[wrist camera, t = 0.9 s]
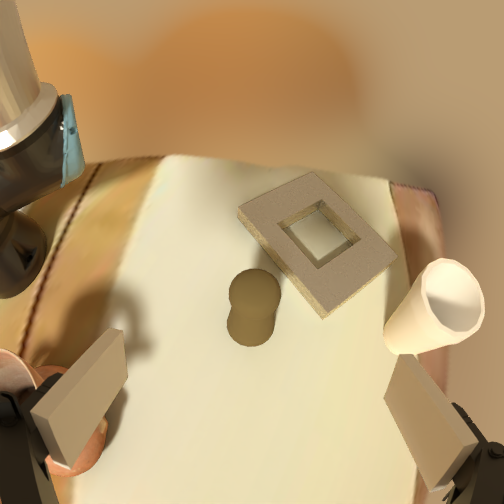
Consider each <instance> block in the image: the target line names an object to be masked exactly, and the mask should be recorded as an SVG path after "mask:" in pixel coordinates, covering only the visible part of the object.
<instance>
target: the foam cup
mask: <svg viewBox="0 0 504 504" xmlns="http://www.w3.org/2000/svg"><path fill="white" fill-rule="evenodd" d="M484 315H485V312H484V297H483V294H482V291H481V289H480V286H479V284H478V282H477V280H476V279H475V278H474V276H473V275H472V274H471V272H470V271H469V270H468V269H467V268H466V267H464V266H463V265H461V264H460V263H458V262H457V261H455V260H451V259H444V258H440V259H438V260H435V261H433V262H431V263H429V264H428V265H427V266H426V267H425V268H424V269H423V270H422V271H421V273H420V274H419V275H418V277H417V278H416V280H415V282H414V283H413V285H412V288H411V289H410V291H409V292H408V294H407V295H406V296H405V298H404V299H403V301H402V302H401V303H400V305H399V306H398V307H397V309H396V310H395V311H394V313H393V314H392V315H391V317H390V318H389V320H388V321H387V323H386V324H385V326H384V332H383V336H384V340H385V344H386V346H387V347H388V348H389V350H390V351H391V352H392V353H394V354H396V355H398V356H399V354H413V355H415V354H419V353H422V352H426V351H429V350H433V349H436V348H439V347H443V346H446V345H449V344H457V343H459V342H461V341H462V340H464V339H466V338H468V337H469V336H471V335H472V334H473V333H474V332H476V331H477V330H478V329H479V328H480V326H481V323H482V320H483V318H484Z"/></svg>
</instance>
